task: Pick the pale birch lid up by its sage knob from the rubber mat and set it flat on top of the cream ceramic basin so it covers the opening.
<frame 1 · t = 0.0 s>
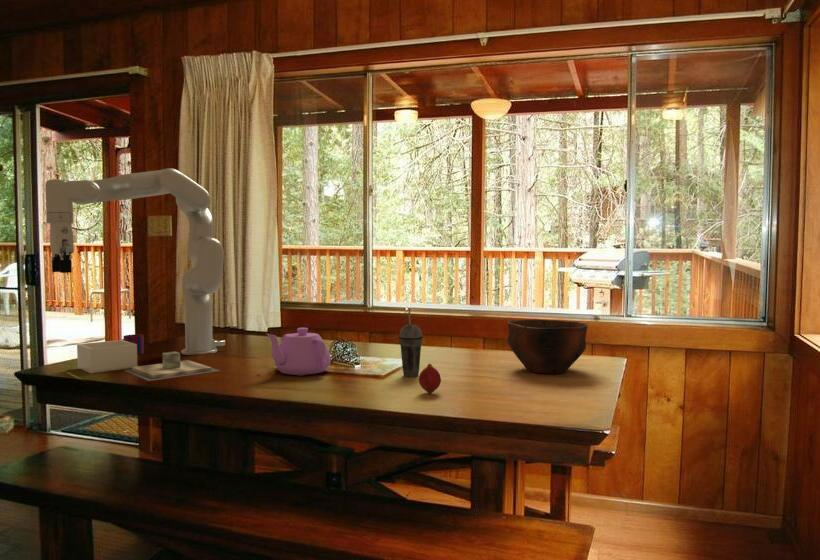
hand: (61, 272, 207), 31 cm above the table, fingers open, 9 cm apart
lid: (171, 370, 202), point 1 cm above the table, touching mat
basin: (107, 369, 208), on the table
bowl: (546, 371, 201), on the table
onion: (429, 394, 171), on the table
teapot: (297, 373, 199), on the table
mat: (171, 372, 202), on the table
beverage cup: (411, 376, 194), on the table
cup: (130, 355, 236), on the table
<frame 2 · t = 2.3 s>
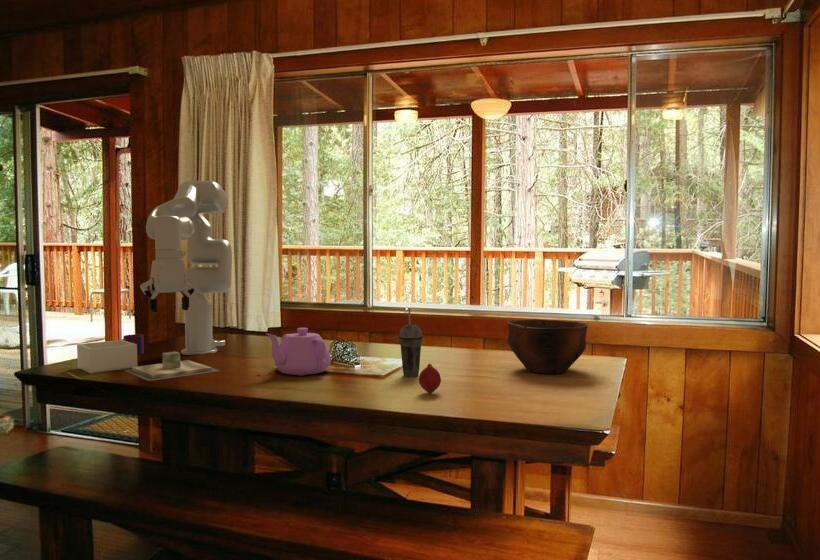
hand: (169, 310, 200), 19 cm above the table, fingers open, 9 cm apart
nothing on the table moved.
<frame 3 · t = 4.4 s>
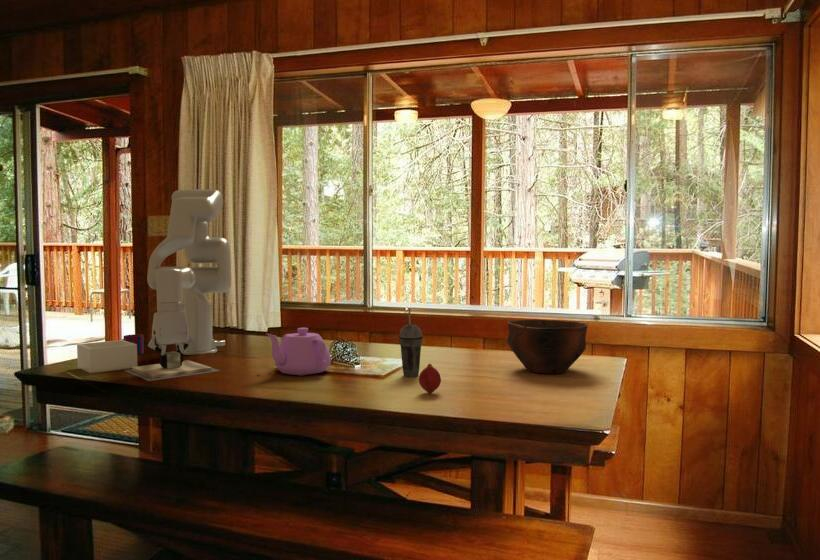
hand: (171, 365, 202), 2 cm above the table, fingers closed on lid, 4 cm apart
lid: (171, 370, 202), point 1 cm above the table, touching gripper, mat
everything else where it was.
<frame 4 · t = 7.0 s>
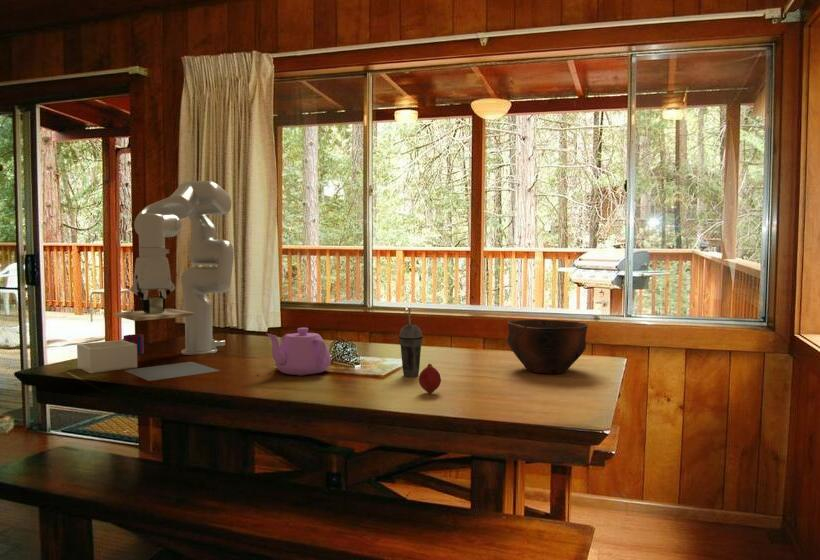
hand: (154, 311, 202), 19 cm above the table, fingers closed on lid, 4 cm apart
lid: (154, 315, 202), point 18 cm above the table, touching gripper
everything else where it was.
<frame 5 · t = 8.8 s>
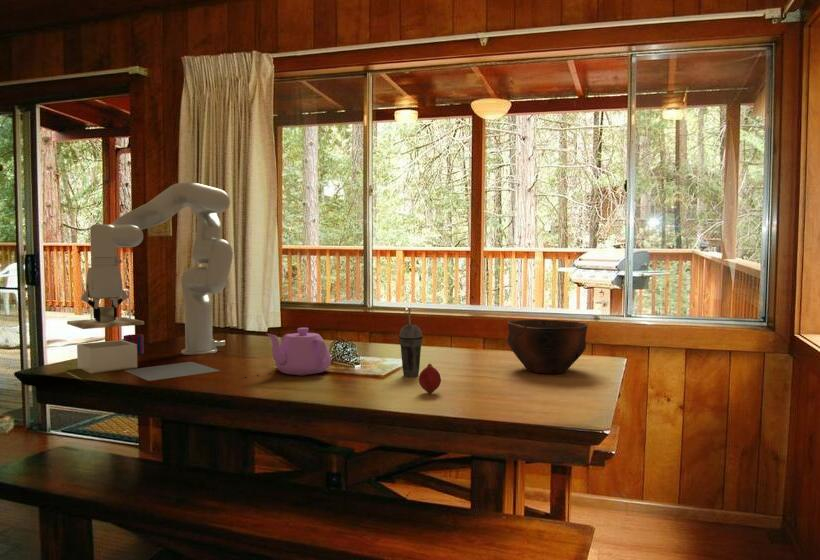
hand: (105, 319, 207), 16 cm above the table, fingers closed on lid, 4 cm apart
lid: (105, 324, 207), point 14 cm above the table, touching gripper
everything else where it was.
when the fingers open (11 cm above the table, at t = 9.9 s): lid drops 1 cm, resting on basin.
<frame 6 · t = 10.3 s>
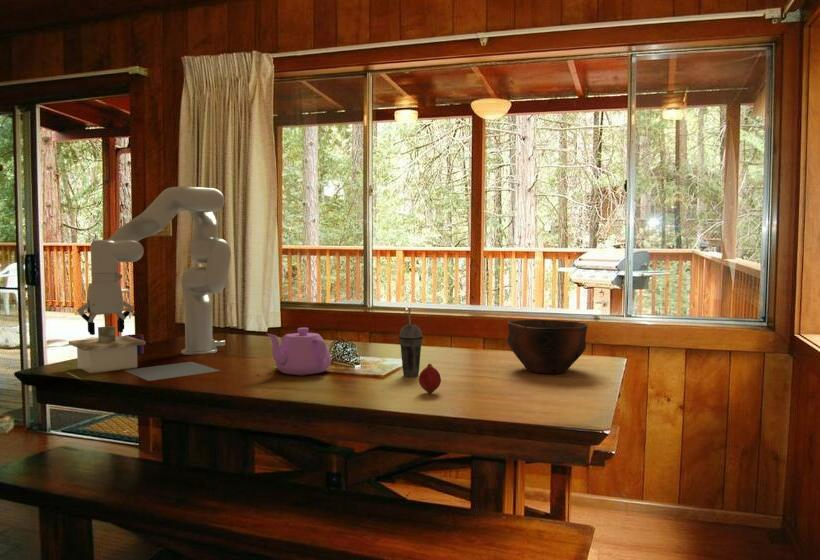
hand: (106, 332, 207), 12 cm above the table, fingers open, 8 cm apart
lid: (107, 344, 208), point 8 cm above the table, touching basin
everything else where it was.
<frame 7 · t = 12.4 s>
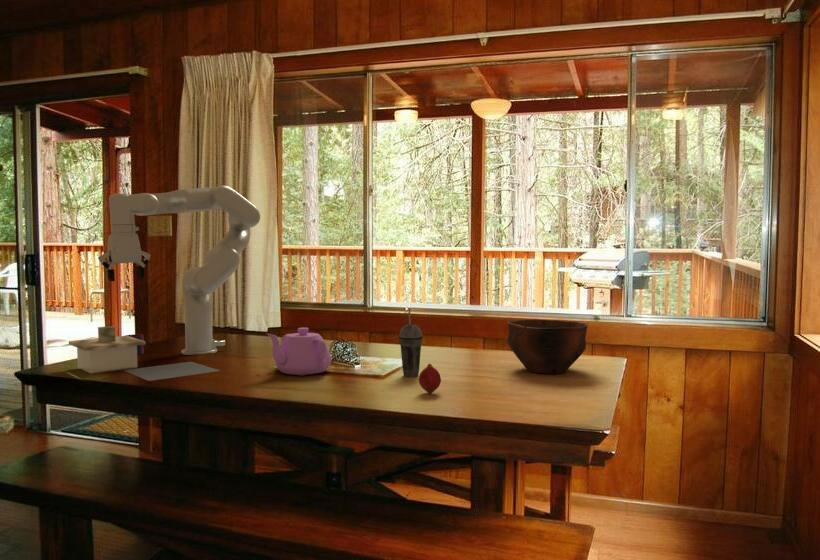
hand: (126, 280, 222), 28 cm above the table, fingers open, 9 cm apart
nothing on the table moved.
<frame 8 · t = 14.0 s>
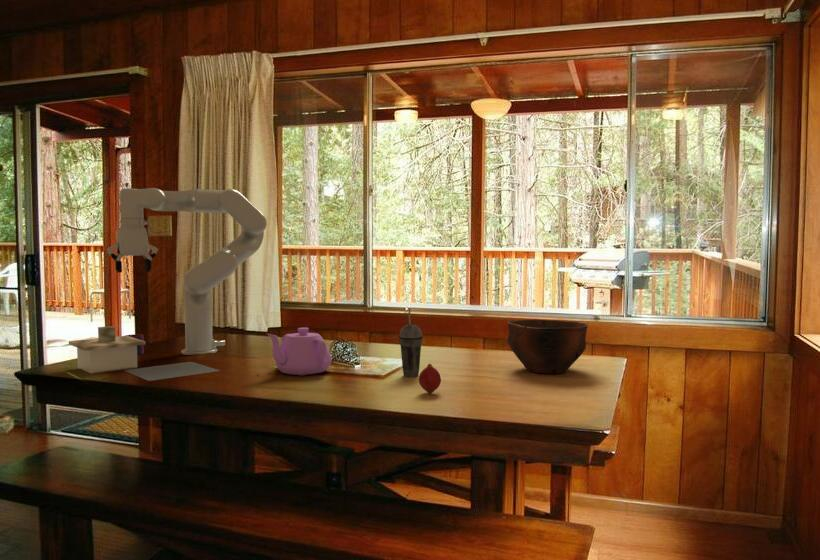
hand: (133, 272, 230), 30 cm above the table, fingers open, 9 cm apart
nothing on the table moved.
at the end: lid 0.1 cm off-centre on the basin, point 8.0 cm above the basin's base; lid tilted 0°; the gripper is holding nothing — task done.
